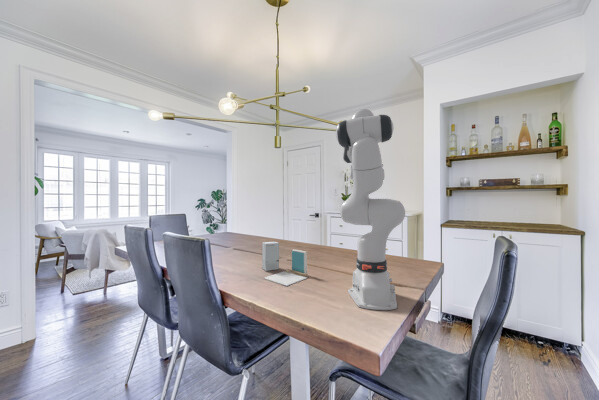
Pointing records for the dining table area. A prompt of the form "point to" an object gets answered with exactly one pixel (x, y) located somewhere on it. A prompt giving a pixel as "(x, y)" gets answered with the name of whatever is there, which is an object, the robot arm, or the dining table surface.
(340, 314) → the dining table surface
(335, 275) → the dining table surface
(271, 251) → the skincare box
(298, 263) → the tile
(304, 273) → the rail
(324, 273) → the dining table surface
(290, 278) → the mat
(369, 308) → the robot arm
